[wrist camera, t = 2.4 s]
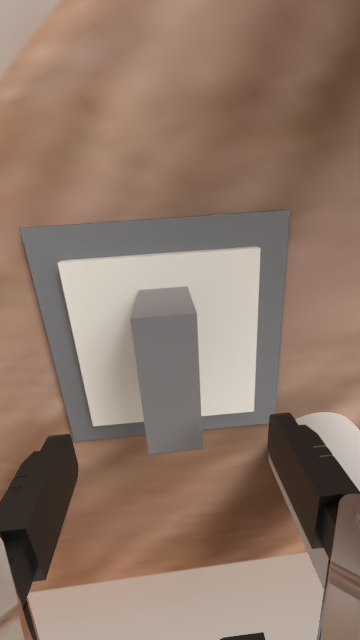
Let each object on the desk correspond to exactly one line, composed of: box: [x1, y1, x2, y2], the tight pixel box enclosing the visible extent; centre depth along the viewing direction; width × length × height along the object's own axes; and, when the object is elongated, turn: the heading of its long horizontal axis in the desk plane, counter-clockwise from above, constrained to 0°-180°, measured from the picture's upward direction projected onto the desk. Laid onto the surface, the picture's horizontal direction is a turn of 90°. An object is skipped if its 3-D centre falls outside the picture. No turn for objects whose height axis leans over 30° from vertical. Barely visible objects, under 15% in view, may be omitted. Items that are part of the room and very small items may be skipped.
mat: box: [20, 210, 290, 442], centre depth 20 cm, size 16×16×1 cm
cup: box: [268, 412, 360, 589], centre depth 19 cm, size 8×8×12 cm
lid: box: [58, 247, 261, 454], centre depth 17 cm, size 12×12×6 cm
